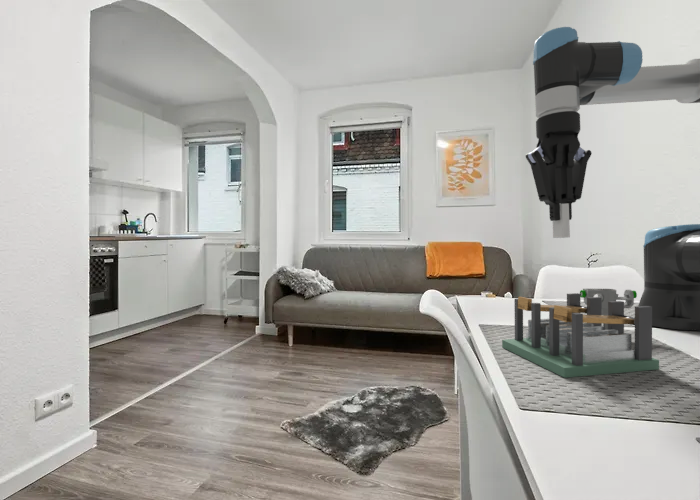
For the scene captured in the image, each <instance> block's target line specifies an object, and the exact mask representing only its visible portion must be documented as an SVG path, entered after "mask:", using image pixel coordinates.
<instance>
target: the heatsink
mask: <svg viewBox="0 0 700 500" xmlns="http://www.w3.org/2000/svg"><path fill="white" fill-rule="evenodd" d="M525 338H526V340H529V341H531V342H532V333H531V319H528V320H527V331H526V332H525ZM541 346H543V347H546V348H548V349H549V318H541ZM559 353H560V354H563V355H565V356H568V357H570V358H572V322H564V321H561V320H559ZM625 360H635V349H632V334H631V333H630V332H624V333H619V334H618V330H615V329H611V330H605V327H603V325H602V326H594V324H592V323H583V363H585V364H588V363H601V362H613V361H625Z"/></svg>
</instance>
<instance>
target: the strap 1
mask: <svg viewBox="0 0 700 500" xmlns="http://www.w3.org/2000/svg"><path fill="white" fill-rule="evenodd" d="M517 299H518V308H519V309H523V311H527V312H531V303H533V298H530V297H529V298H528V297H526V296H525V297H524V296H518V297H517ZM554 305H555V304H552V305H551V304H541V312H544V313H546V312H549V308H551V307H554ZM559 306H561V305H559ZM563 306H564V307H568V308H572V312H573V313H581V314H583V313H584V314H587V306H583V305H581V304H580V305H575V306H567V305H563Z"/></svg>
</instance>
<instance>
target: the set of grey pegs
mask: <svg viewBox="0 0 700 500" xmlns="http://www.w3.org/2000/svg"><path fill="white" fill-rule="evenodd" d="M624 303H625V301H624V300H616V301H610V302H608V316H618V315H625V308H624ZM541 305H542V304H541V302H540V303H539V302H532V303H531V311H530V312H531V315H530V316H531V319H530V320H531V333H532V347H533V348H541V319H542V318H541V316H542V311H541ZM575 305H580V306H581V297H580V292H577V293H572V292H571V293H566V306H575ZM586 307H587V313H586V315H602V298H601V297H598V296H594V297H588V298H587V305H586ZM548 314H549V315H548V319H549V354H550V355H552V356H559V320H557V319H554V307H551V308H549V313H548ZM583 315H584V314H583V313H573V312H572V364H573V365H575V366H581V365H583ZM634 318H635V325H634V350H635V359H636V360H651V359H652V358H653V326H652V307H650V306H639V305H638V306H634ZM592 324H594V326H603V323H592ZM611 329H615V330H618V334H619V333H625V332H624V331H625V324H608V330H611ZM523 338H524V310H523V309H519V308H518V298H514V339H515V340H517V341H520V340H523Z"/></svg>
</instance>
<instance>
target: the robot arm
mask: <svg viewBox="0 0 700 500" xmlns="http://www.w3.org/2000/svg"><path fill="white" fill-rule="evenodd" d="M579 38H580V37H579V36H578V32H577V29H575V28H572V27H571V26H560V27H556V28H553V29H550V30H548V31H546V32H543V33H542V34H541V35H540V36H539V37H537V39H536V40H535V41H534V46H533V61H532V65H533V77H534V78H533V79H534V103H535V104H534V105H535V117H536V118H537V119H536V121H535V134H536V138H537V139H538V141H537V144H536V148H535V149H533V151H531V152H528V153H526V154H525V159H526V160H527V162H528V164H529V166H530V168H531V171H532V176H533V180H534V184H535V187H536V188H535V189H536V192H537V196H538V200H539V201H540V203H541V202H543V203H544V204H545V206H548V207H549V220H550V222H552V238H553V239H555V238H556V239H558V238H559V239H561V238H563V239H566V238H570V237H571V230H570V221H571V220H572V218H573V214H572V213H573V211H572V208H573V207H572V204H574V203H576V202H577V200H581V198H582V194H583V189H584V183H585V178H586V177H585V176H586V173H587V172H586V171H587V167H588V162H589V160H590V158H591V156H592V151H591V150H590V149H588V150H585V149H584V148H582V147H581V142H580V139H579V137H578V136H579V134H580V131H581V114H580V113H579V112H578V111H579V110H580V109H581V107H580V106H589V105H591V106H592V105H603V104H604V105H609V104H621V103H623V104H624V103H638V102H639V103H641V102H642V103H643V102H657V101H672V100H673V101H674V100H675V101H677V102H678V103H680V104H695V103H696V104H697V103H700V58H693V59H690V60H688V61H686V62H685V63H683V64H682V63H681V64H665V65H651V66H649V65H648V66H647V65H646V66H642V65H643V51H642V48H641V46H640V45H638V44H637V43H634V42H627V41H626V42H624V41H623V42H622V41H620V40H618V41H607V42H602V41H601V42H585V41H579ZM642 246H643V247H642V248H643V279H644V280H643V281H644V283H643V284H644V285H643V286H644V287H643V292H642V294H641V297H640V300H639V303H638V306H650V307H652V327H656V328H657V327H658V328H663V329H671V330H682V331H697V332H698V331H700V223H691V224H679V225H670V226H663V227H656V228H653V229H650V230H648V231H647V232H646V233H645V234H644V244H643V245H642Z"/></svg>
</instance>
